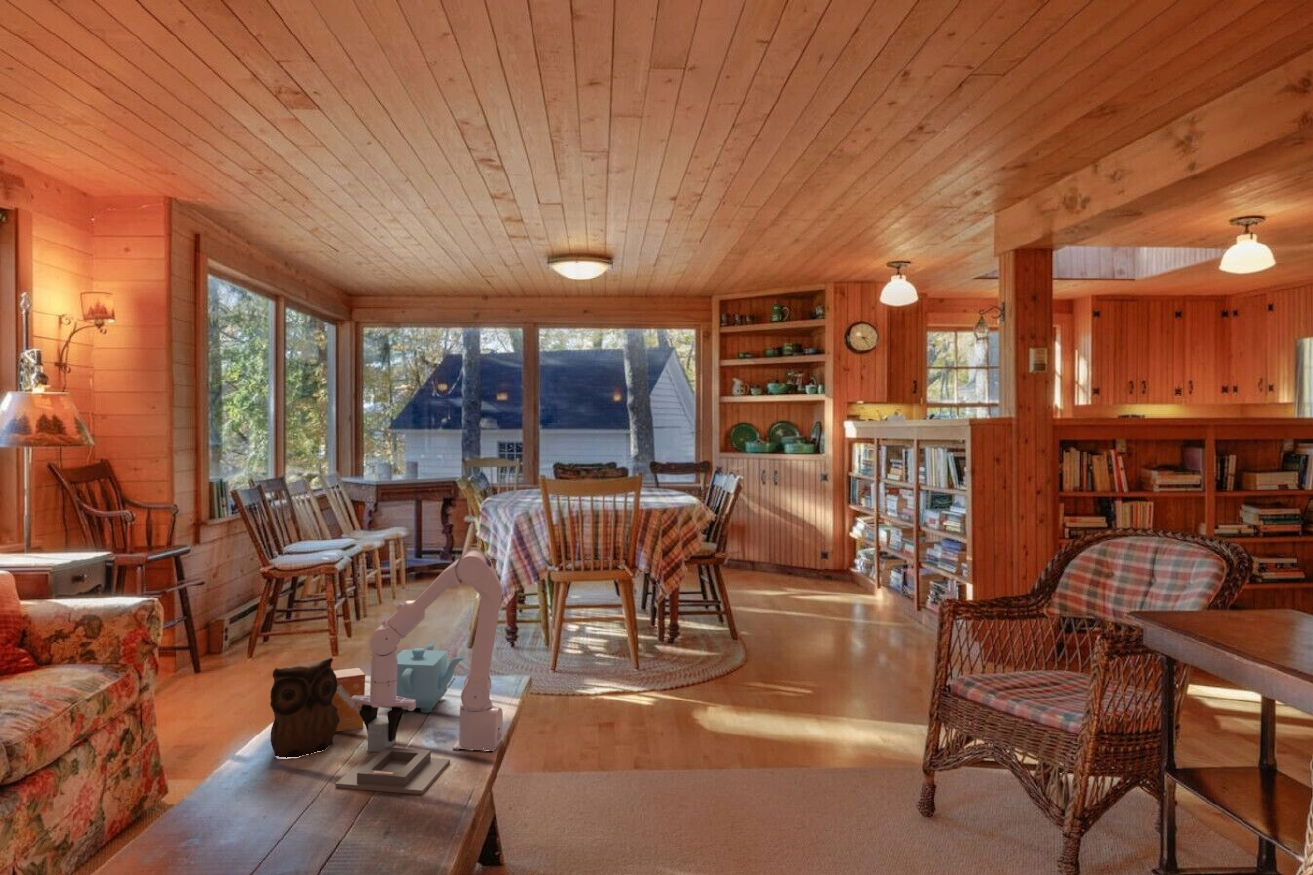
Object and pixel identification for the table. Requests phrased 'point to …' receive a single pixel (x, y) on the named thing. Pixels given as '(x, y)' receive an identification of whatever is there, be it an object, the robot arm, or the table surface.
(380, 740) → the block
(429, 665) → the teakettle
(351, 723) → the small box
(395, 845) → the table surface
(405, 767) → the chassis
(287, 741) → the owl
